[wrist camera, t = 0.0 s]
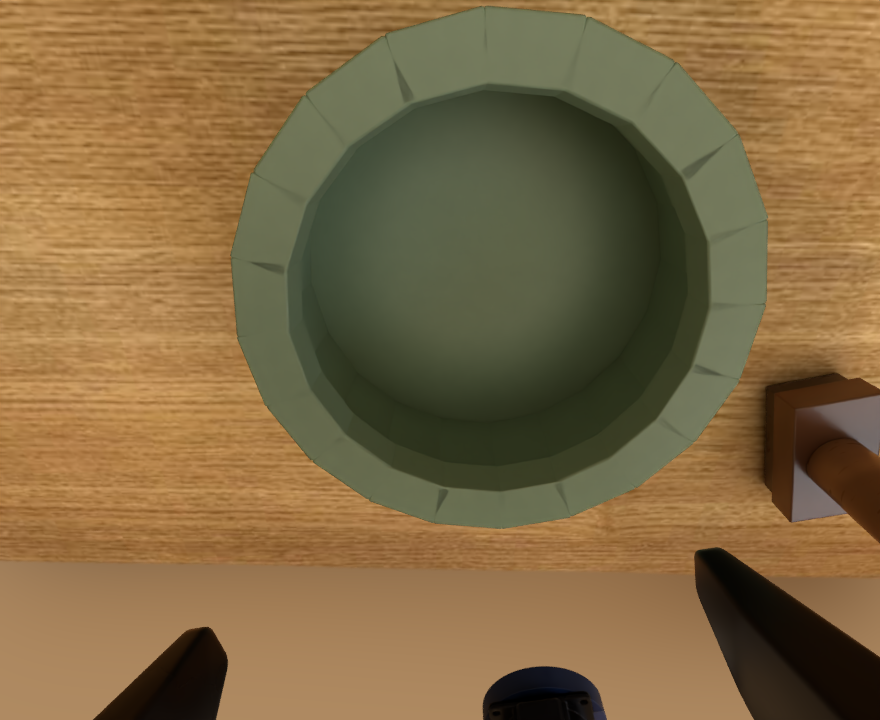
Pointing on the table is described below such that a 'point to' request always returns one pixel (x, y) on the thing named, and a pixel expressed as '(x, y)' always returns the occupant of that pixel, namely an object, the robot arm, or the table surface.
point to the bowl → (500, 267)
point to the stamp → (824, 449)
